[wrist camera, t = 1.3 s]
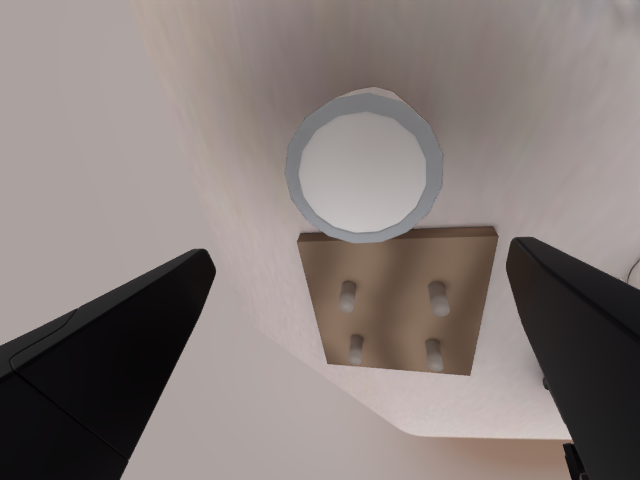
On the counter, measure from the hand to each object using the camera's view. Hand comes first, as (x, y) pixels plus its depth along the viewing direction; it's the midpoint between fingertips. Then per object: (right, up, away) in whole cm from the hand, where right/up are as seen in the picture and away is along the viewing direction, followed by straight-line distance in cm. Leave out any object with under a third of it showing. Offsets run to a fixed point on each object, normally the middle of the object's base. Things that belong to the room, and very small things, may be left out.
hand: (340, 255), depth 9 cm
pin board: (+6, -5, +17) cm, 19 cm away
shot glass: (+3, +7, +10) cm, 12 cm away
